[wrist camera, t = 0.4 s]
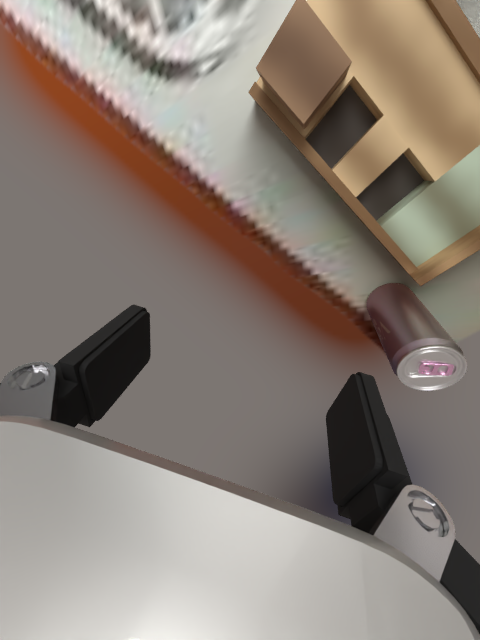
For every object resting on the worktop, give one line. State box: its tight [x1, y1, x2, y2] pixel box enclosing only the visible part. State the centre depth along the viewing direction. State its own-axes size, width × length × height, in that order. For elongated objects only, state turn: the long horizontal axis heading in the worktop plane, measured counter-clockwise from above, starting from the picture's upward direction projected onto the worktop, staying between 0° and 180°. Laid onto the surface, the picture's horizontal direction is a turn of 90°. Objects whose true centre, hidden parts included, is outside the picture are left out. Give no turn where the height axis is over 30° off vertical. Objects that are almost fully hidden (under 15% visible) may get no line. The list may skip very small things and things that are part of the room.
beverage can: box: [366, 283, 467, 391], centre depth 29 cm, size 6×6×15 cm
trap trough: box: [249, 0, 480, 286], centre depth 24 cm, size 14×28×6 cm, turn 49°
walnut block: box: [256, 0, 352, 130], centre depth 22 cm, size 5×6×4 cm
